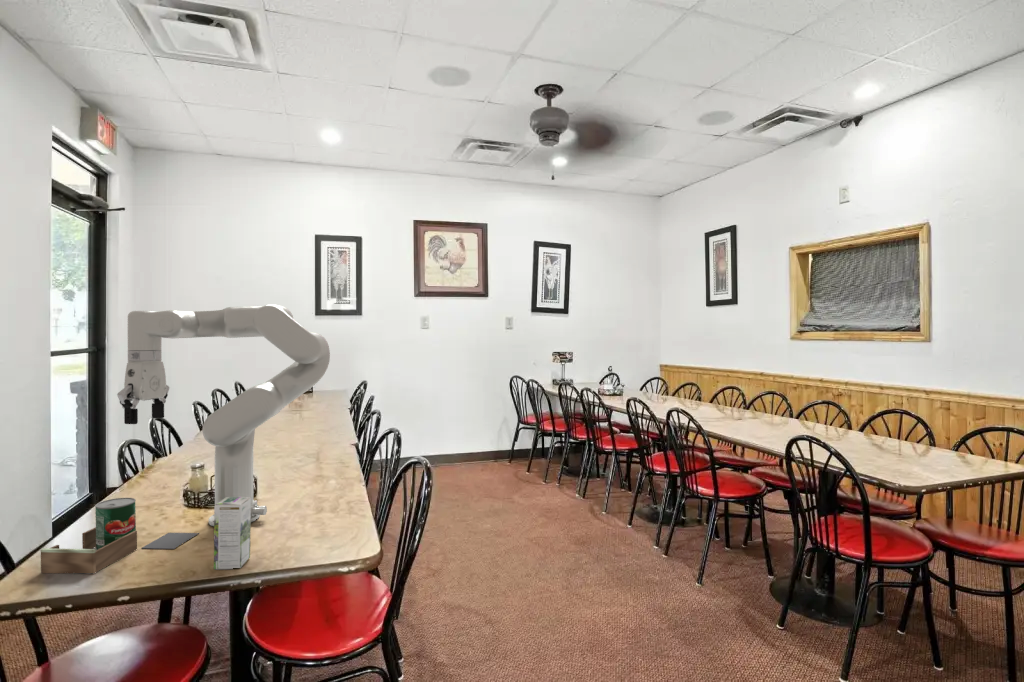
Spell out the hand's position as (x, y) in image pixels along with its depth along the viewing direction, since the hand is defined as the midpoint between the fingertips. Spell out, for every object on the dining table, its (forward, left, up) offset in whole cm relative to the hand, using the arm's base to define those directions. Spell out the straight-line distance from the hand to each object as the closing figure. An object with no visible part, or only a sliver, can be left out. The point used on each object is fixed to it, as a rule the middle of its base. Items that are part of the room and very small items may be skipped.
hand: (144, 420), depth 147 cm
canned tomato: (-4, +15, -28) cm, 32 cm away
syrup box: (-37, +23, -28) cm, 52 cm away
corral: (-4, +18, -28) cm, 34 cm away
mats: (-6, +15, -28) cm, 32 cm away
